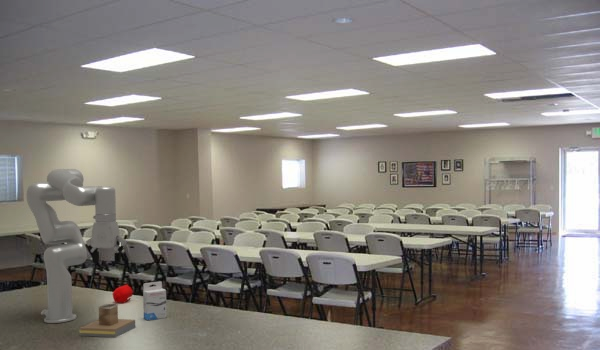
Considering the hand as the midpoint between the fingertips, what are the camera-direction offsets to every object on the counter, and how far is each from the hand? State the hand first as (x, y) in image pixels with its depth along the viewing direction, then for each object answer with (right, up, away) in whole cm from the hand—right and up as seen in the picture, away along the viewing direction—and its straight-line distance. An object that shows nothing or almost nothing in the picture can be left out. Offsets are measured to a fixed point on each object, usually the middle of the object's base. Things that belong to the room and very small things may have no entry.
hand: (106, 262), depth 218 cm
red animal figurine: (-10, -27, +51) cm, 59 cm away
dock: (+1, -26, -2) cm, 26 cm away
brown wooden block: (+1, -23, -2) cm, 23 cm away
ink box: (+14, -26, +17) cm, 35 cm away
